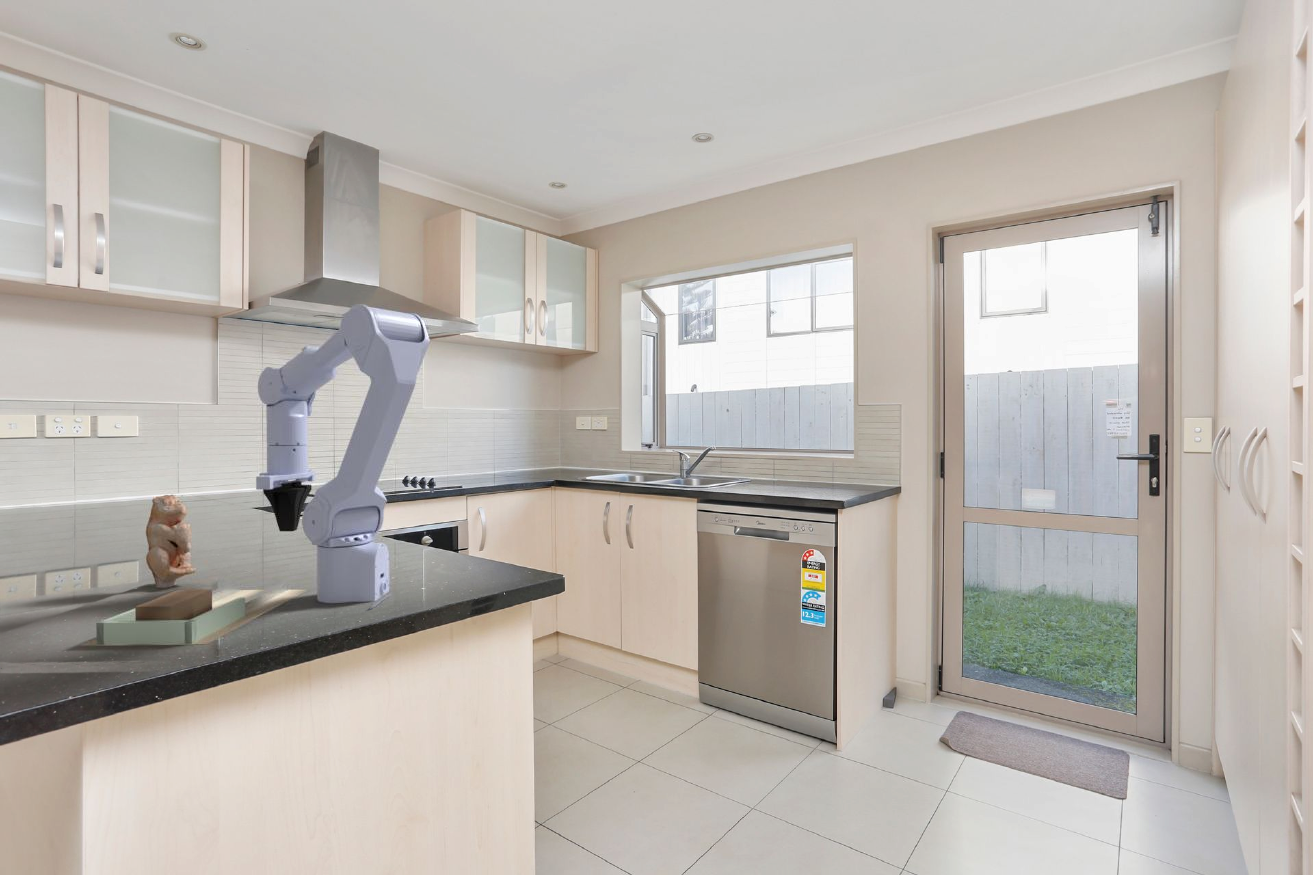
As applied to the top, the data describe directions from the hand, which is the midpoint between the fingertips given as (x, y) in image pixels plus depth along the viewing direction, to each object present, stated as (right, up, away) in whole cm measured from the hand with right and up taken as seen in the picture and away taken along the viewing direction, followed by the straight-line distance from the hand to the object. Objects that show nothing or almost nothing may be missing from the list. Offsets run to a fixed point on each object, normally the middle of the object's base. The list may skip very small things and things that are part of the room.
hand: (288, 530), depth 105 cm
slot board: (-1, -10, -16) cm, 19 cm away
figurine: (-18, -10, -1) cm, 20 cm away
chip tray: (-1, -9, -23) cm, 25 cm away
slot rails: (-1, -9, -10) cm, 14 cm away
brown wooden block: (-1, -9, -21) cm, 23 cm away
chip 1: (-1, -9, -25) cm, 27 cm away
